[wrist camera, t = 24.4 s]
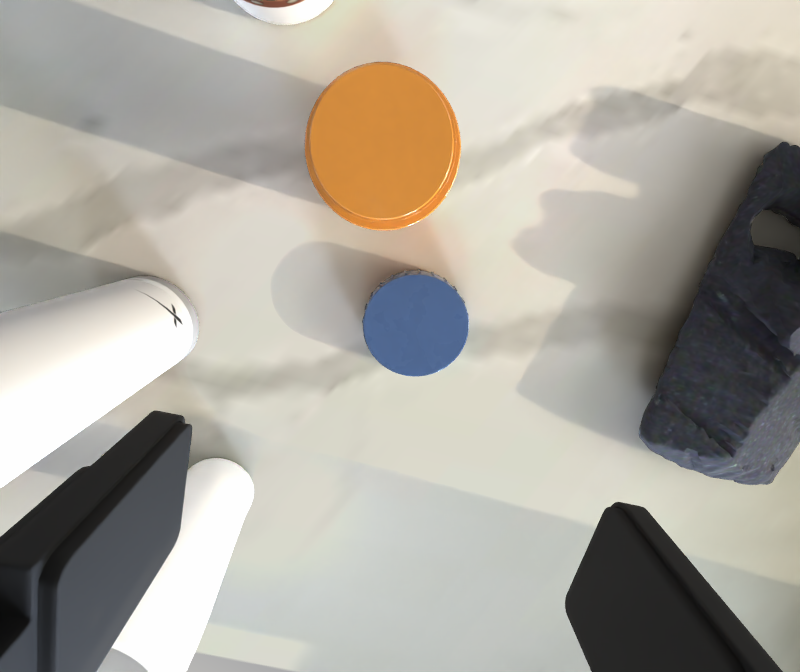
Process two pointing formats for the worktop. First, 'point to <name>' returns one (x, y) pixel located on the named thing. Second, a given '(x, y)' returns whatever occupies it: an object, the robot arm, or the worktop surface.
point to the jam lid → (415, 323)
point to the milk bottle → (284, 10)
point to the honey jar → (382, 146)
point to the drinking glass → (186, 573)
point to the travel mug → (83, 360)
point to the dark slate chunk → (738, 349)
